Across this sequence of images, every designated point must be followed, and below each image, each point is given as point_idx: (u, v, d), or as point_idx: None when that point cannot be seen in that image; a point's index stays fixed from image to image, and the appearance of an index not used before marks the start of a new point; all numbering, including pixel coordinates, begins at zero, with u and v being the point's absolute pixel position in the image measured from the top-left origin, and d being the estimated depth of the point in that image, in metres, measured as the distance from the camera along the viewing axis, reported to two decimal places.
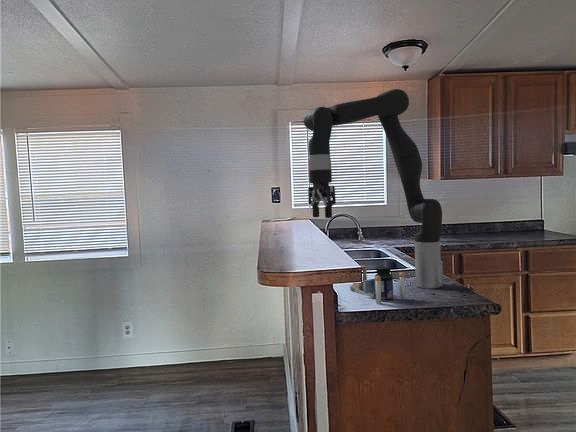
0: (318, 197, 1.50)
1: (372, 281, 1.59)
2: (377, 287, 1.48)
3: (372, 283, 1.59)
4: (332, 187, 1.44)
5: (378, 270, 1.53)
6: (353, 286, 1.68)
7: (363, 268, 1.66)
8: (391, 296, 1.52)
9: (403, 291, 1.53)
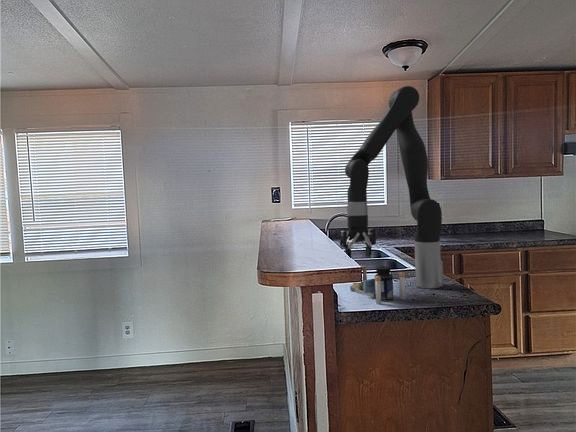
0: (359, 239, 1.66)
1: (372, 281, 1.59)
2: (377, 287, 1.48)
3: (372, 283, 1.59)
4: None
5: (378, 270, 1.53)
6: (353, 286, 1.68)
7: (363, 268, 1.66)
8: (391, 296, 1.52)
9: (403, 291, 1.53)
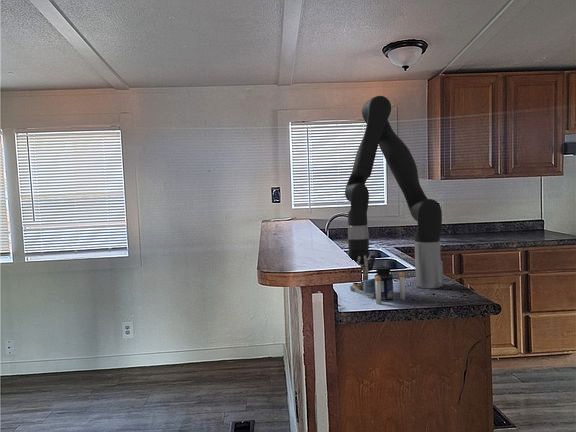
0: (360, 263, 1.66)
1: (372, 281, 1.59)
2: (377, 287, 1.48)
3: (372, 283, 1.59)
4: None
5: (378, 270, 1.53)
6: (353, 286, 1.68)
7: (363, 268, 1.66)
8: (391, 296, 1.52)
9: (403, 291, 1.53)
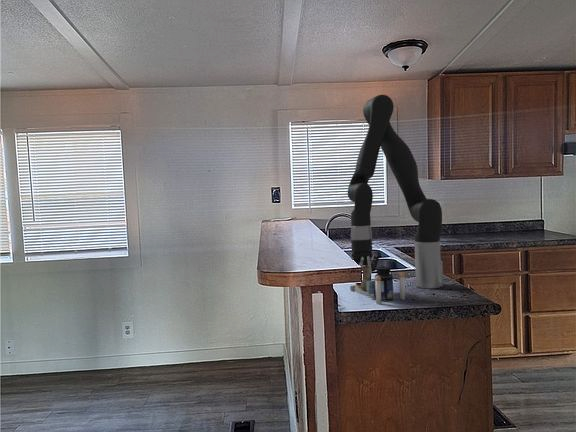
0: (364, 263, 1.64)
1: None
2: (377, 287, 1.48)
3: None
4: None
5: (378, 270, 1.53)
6: (356, 287, 1.66)
7: (366, 269, 1.64)
8: (391, 296, 1.52)
9: (403, 291, 1.53)
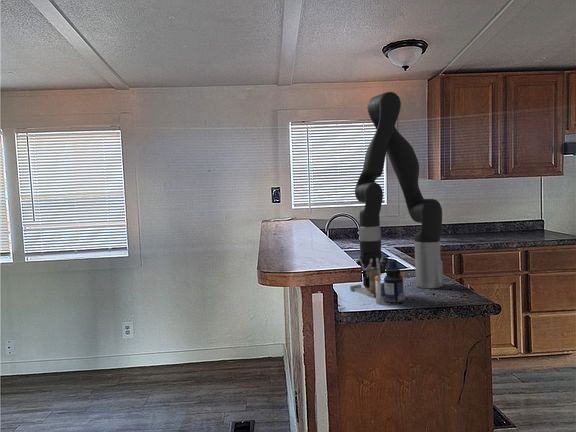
0: (372, 265, 1.59)
1: None
2: (377, 287, 1.48)
3: None
4: None
5: (388, 272, 1.48)
6: (365, 290, 1.61)
7: (375, 271, 1.59)
8: (401, 299, 1.48)
9: (403, 291, 1.53)
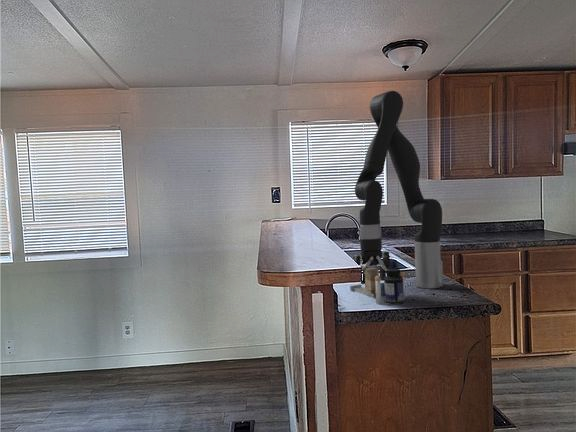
0: (373, 263, 1.59)
1: None
2: (377, 287, 1.48)
3: None
4: None
5: (388, 272, 1.48)
6: (365, 290, 1.61)
7: (375, 271, 1.59)
8: (401, 299, 1.48)
9: (403, 291, 1.53)
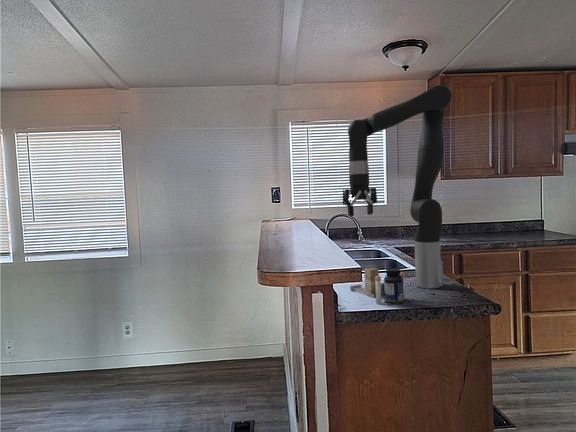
0: (361, 197, 1.72)
1: None
2: (377, 287, 1.48)
3: None
4: None
5: (388, 272, 1.48)
6: (365, 290, 1.61)
7: (375, 271, 1.59)
8: (401, 299, 1.48)
9: (403, 291, 1.53)
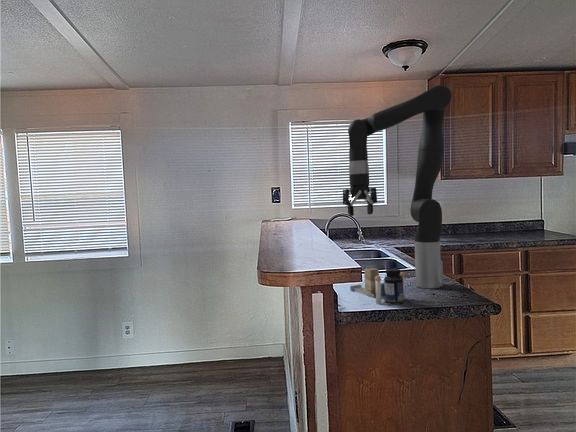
0: (361, 197, 1.73)
1: None
2: (377, 287, 1.48)
3: None
4: None
5: (388, 272, 1.48)
6: (365, 290, 1.61)
7: (375, 271, 1.59)
8: (401, 299, 1.48)
9: (403, 291, 1.53)
